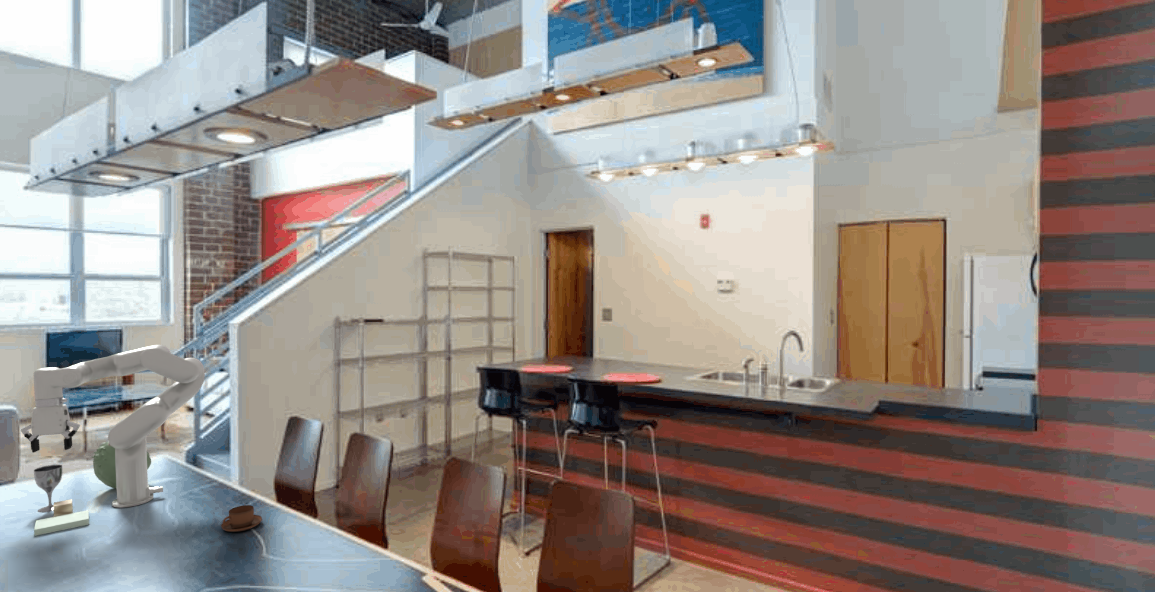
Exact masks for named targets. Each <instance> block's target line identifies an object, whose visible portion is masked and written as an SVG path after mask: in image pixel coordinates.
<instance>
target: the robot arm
mask: <svg viewBox="0 0 1155 592" xmlns="http://www.w3.org/2000/svg"><path fill="white" fill-rule="evenodd" d="M148 370H149V371H151V372H153V373H155V374H156V375H157V374H158V375H160V376H162V377H165V378H167V379H170V380H172V381H174V383H172V384H171V385H169V386H168V387H167V388H166V389H164V391H161V392H160V393H159V394H157V395H156V396H155V397H153V398H151V399H149V400H148V401H146V402H145V403H143V405H141V406H140V407H139V408H137V409H136V410H135V411H133V412H132V413H131V414H129V415H128V416H126V417H124V418H122V419H121V420H119V421H118V422H117V423H116V424H115V425H114V426H112V428H111V429H110V430H109V431H108V434H107V442H109V444H110V445H111V446H112V447H114V448H115V466H116V487H117V488H116V498H115V499H113V501H112V502H111V506H112V507H114V508H119V509H120V508H121V509H122V508H131V507H136V506H139V505H143V504H147V503H148V502H151V501H153V499H154V494H157V493H164V487H163V486H160V487H159V486H154V487H151V486H150V484H149V481H148V478H149V477H148V470H147V452H148V450H147V442H148V441H147V437H148V436H150V435H151V434H152V433H153V432H155V431H156V430H157V429H159V428H160V427H161V426H162V425H163V424H164V423H166V421H167V420H168V419H169V418H170V416H171V415H172V414H174V413H175V412H177V411H178V410H179V409H180V408H182V407H183V406H184V405H185V404H187V402H189V401H190V400H191V399H193V398H194V397H195V396H196V395H197V394H198V393H199V391H200V390H201V388H202V386H203V385H204V381H205V377H206V376H205V372H206V371H205V367H204V365H203V363H202V361H201V360H200V359H198V358H196V357H186V358H183V357H181V356H178V355H176V354H173V353H171V350H170V349H169V347H168V346H166V345H163V344H154V345H153V344H152V345H149V346H144V347H140V348H137V349H133V350H132V349H130V350H128V351H123V352H119V353H115V354H112V355H109V356H105V357H101V358H99V357H98V358H95V359H92V360H86V361H82V362H79V363H76V364H72V365H70V366H68V367H63V368H59V367H55V366H54V367H53V366H52V367H41V368H37V369H36V370H34V371H33V388H34V389H33V391H34V404H35V405H34V406H35V407H33V408H32V414H31V423H30V424H28V425H27V426H25V427H23V428H21V429H20V432H21V433H22V434H23V437H24V438H26V439H27V440H28V442H30V449H31V451H32V453H37V452H38V451H40V439H39V437H40V436H52V435H61V436H62V437H64V439H63V447H64V450H65V451H68V450H69V449H71V448H72V447H73V437H74V435H76V434H77V432H78V430H79V429H80V427H81V425H80V424H79V423H77V422H73V421H71V418H70V414H69V408H68V406H67V404H64V403H67V402H68V398H66V397H65V398H64V395H63V388H68V389H69V388H70V389H73V388H74V389H75V388H78V387H79V386H81V385H82V386H83V384H85V383H88V382H92V381H95V380H100V379H103V378H108V377H109V378H110V377H122V376H129V375H132V374H136V373H139V372H145V371H148ZM71 428H72V429H71ZM29 430H31V432H29ZM70 430H71V431H70Z"/></svg>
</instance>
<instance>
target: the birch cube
mask: <svg viewBox="0 0 1155 592" xmlns="http://www.w3.org/2000/svg"><path fill="white" fill-rule="evenodd" d="M52 505H53V510H54V511H53V517H56V516H61V515H66V514H71V513H74V511H73V510H74V509H73V508H74V506H73V499H67V500H62V501H61V500H60V501H56V502H53V504H52Z"/></svg>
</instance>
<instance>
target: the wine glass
mask: <svg viewBox="0 0 1155 592" xmlns="http://www.w3.org/2000/svg"><path fill="white" fill-rule="evenodd" d="M63 472H64V471H63V465H62V464H50V465H43V466H40V467H37V468H34V469H33V476H34V477H33V478H34V481H35V484H36V486H37V487H38V488H40V489H41V490H43V491H44V492H45V493H46V495H47V499H48V505H46V506H44V507H41V508H38V510H37V513H49V512H54V510H53V505H54V504H52V496H53V491H54V490H55V489H56V488H57V487H58V486H59V484H60V483H61V481H62V479H63Z"/></svg>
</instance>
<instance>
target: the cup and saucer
mask: <svg viewBox="0 0 1155 592" xmlns="http://www.w3.org/2000/svg"><path fill="white" fill-rule="evenodd" d="M254 510H255V508H254V506H253V505H250V504H244V505H238V506H235V507H232V508H230V509H229V510H228V516H226V517H224V518H223V520H222V523H221V524H220V527H221V529H222V530H223V531H225V532H231V533H232V532H233V533H235V532H243V531H248V530H251V529H252V528H254V527H257V526H258V525H259V524H260V523H261V522H262V521H263V517H262V516H261V515H259V514H255V511H254Z"/></svg>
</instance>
